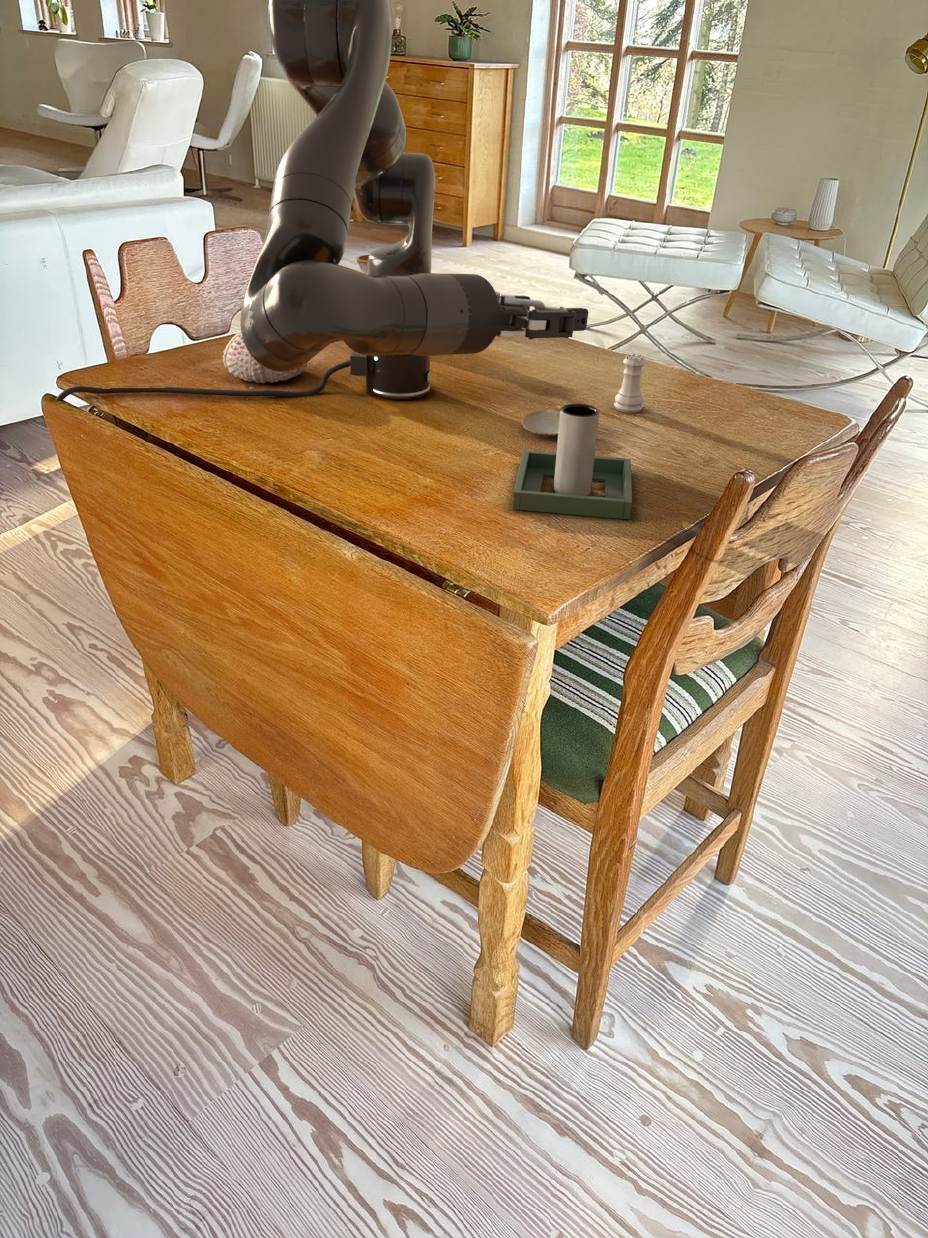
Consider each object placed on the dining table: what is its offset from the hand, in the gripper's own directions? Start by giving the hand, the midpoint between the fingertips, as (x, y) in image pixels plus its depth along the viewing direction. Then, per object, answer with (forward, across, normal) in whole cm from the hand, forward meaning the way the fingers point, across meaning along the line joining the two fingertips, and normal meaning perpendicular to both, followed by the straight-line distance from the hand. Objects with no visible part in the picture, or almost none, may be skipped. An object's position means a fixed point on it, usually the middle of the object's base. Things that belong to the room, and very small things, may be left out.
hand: (555, 312), depth 102 cm
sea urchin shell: (+2, +62, +19) cm, 65 cm away
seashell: (+20, +17, +19) cm, 33 cm away
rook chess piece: (+37, +17, +17) cm, 44 cm away
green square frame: (+8, +1, +21) cm, 23 cm away
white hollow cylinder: (+8, +1, +21) cm, 23 cm away
